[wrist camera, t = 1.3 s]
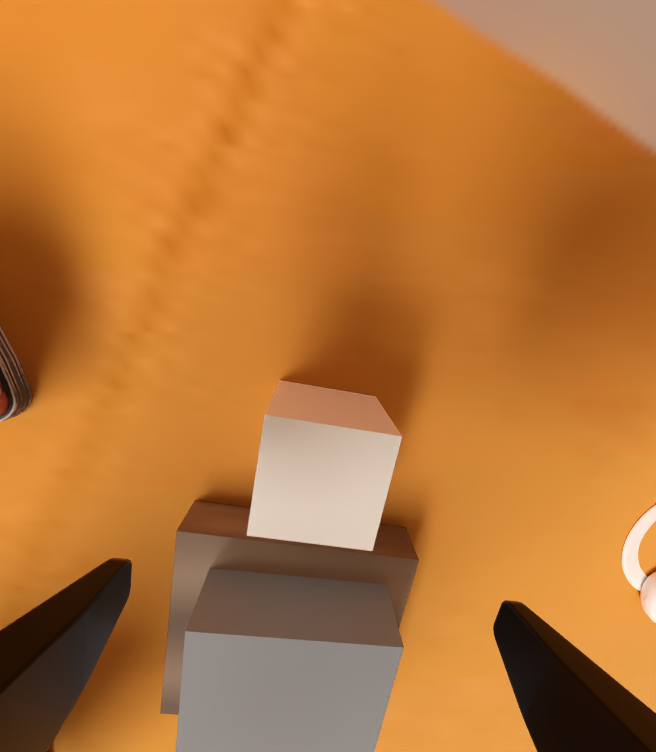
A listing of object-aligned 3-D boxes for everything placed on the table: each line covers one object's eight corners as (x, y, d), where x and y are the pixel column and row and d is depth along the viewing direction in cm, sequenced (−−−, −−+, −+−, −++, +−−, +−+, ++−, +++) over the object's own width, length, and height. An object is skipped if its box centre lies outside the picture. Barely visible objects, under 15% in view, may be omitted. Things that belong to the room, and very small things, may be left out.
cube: (355, 480, 17) (372, 551, 12) (266, 467, 17) (246, 535, 12) (375, 395, 16) (402, 436, 11) (279, 379, 16) (264, 414, 11)
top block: (355, 710, 18) (363, 789, 15) (196, 701, 17) (173, 783, 14) (386, 584, 16) (403, 647, 13) (209, 568, 15) (185, 631, 12)
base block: (361, 669, 21) (368, 727, 18) (182, 653, 20) (160, 713, 17) (402, 519, 19) (418, 560, 16) (199, 492, 18) (176, 531, 15)
